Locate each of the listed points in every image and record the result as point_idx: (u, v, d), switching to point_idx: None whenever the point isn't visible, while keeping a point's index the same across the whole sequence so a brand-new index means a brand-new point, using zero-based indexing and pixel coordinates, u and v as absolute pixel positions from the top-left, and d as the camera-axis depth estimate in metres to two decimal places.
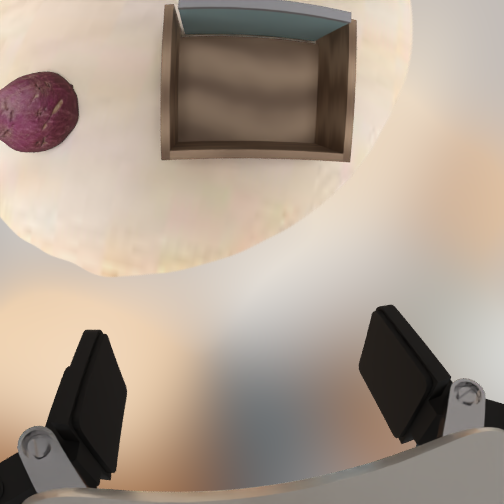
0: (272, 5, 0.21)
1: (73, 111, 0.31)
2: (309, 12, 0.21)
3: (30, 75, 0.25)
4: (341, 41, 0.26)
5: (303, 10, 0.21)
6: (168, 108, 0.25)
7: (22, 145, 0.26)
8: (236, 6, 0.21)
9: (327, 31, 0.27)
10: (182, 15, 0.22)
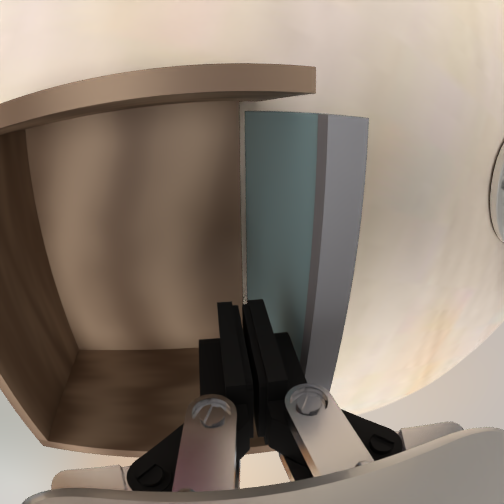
0: (317, 371, 0.10)
1: None
2: None
3: None
4: None
5: None
6: None
7: None
8: (318, 297, 0.09)
9: None
10: (292, 119, 0.09)
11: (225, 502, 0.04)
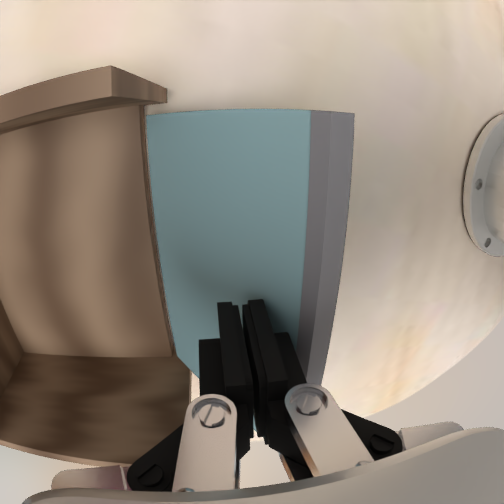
0: (316, 360, 0.10)
1: None
2: None
3: None
4: (148, 437, 0.15)
5: None
6: None
7: None
8: (320, 290, 0.09)
9: None
10: (256, 116, 0.09)
11: (225, 502, 0.04)
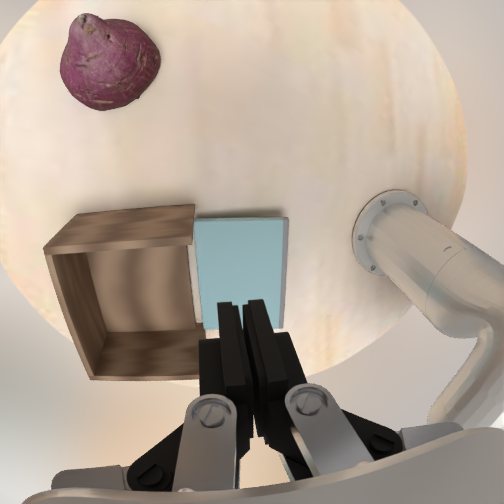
0: (285, 280, 0.39)
1: (105, 109, 0.29)
2: None
3: (145, 58, 0.25)
4: (187, 364, 0.37)
5: (284, 298, 0.40)
6: (85, 251, 0.27)
7: (61, 70, 0.22)
8: (286, 259, 0.38)
9: None
10: (265, 222, 0.36)
11: (225, 502, 0.04)
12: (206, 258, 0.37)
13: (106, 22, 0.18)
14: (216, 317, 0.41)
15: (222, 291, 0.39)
